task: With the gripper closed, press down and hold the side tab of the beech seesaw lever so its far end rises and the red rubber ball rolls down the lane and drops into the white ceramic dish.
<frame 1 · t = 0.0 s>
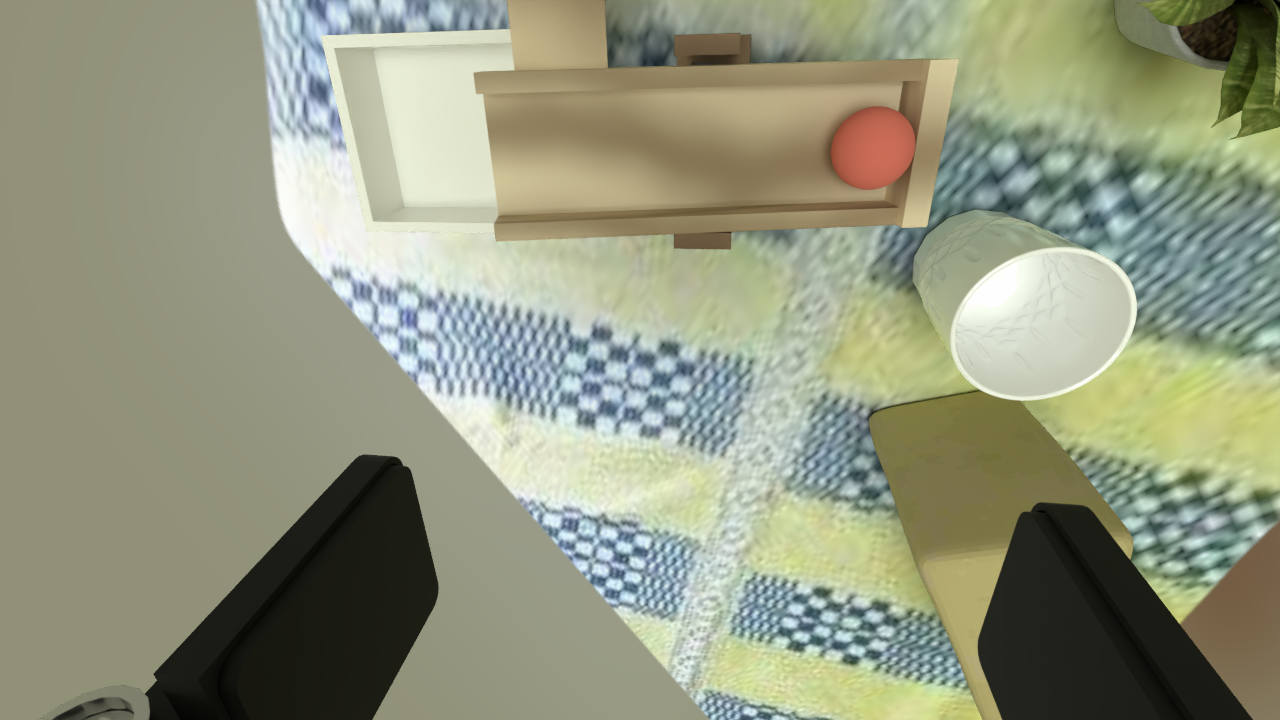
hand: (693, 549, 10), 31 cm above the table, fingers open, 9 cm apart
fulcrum: (711, 127, 36), on the table
dish: (476, 130, 38), on the table
ball: (872, 148, 27), point 9 cm above the table, tilted 8°, touching lever
white cup: (968, 262, 37), on the table
house plant: (1172, 17, 31), on the table
cheese: (952, 516, 46), on the table
lever: (710, 47, 26), point 9 cm above the table, hinge at -12.0°, touching ball
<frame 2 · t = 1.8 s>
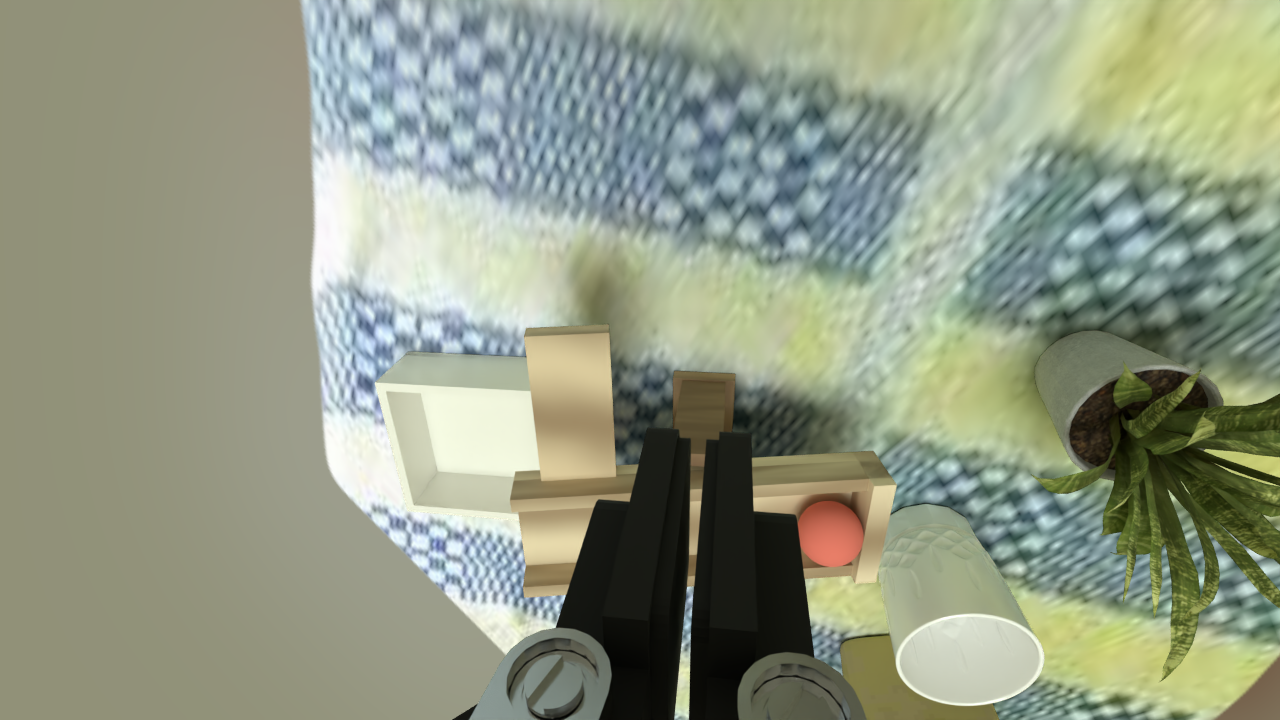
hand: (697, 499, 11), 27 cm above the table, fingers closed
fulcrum: (702, 432, 42), on the table
dish: (500, 420, 44), on the table
ball: (829, 533, 33), point 9 cm above the table, tilted 8°, touching lever
white cup: (921, 537, 44), on the table
house plant: (1082, 386, 37), on the table
cheese: (914, 715, 53), on the table
lever: (699, 459, 33), point 9 cm above the table, hinge at -12.0°, touching ball
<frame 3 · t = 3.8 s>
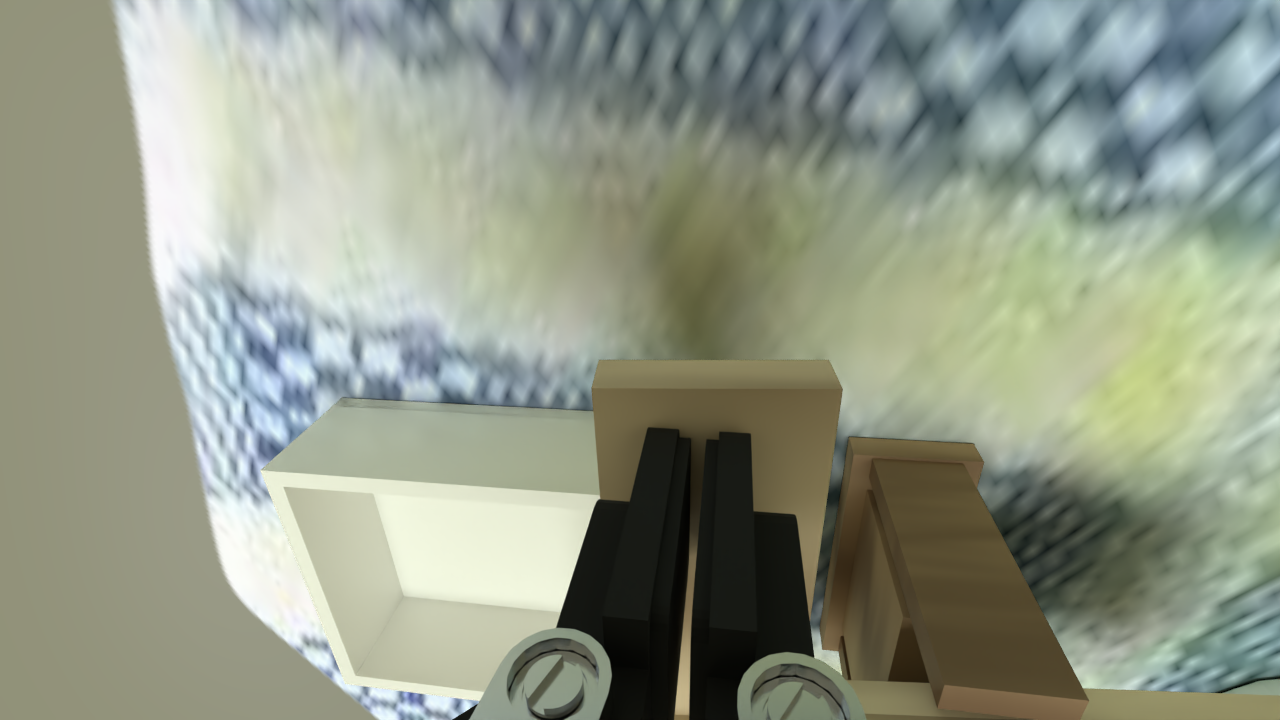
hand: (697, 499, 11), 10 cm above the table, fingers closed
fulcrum: (888, 546, 23), on the table
dish: (512, 516, 25), on the table
lever: (1010, 700, 13), point 9 cm above the table, hinge at -4.8°, touching ball, gripper
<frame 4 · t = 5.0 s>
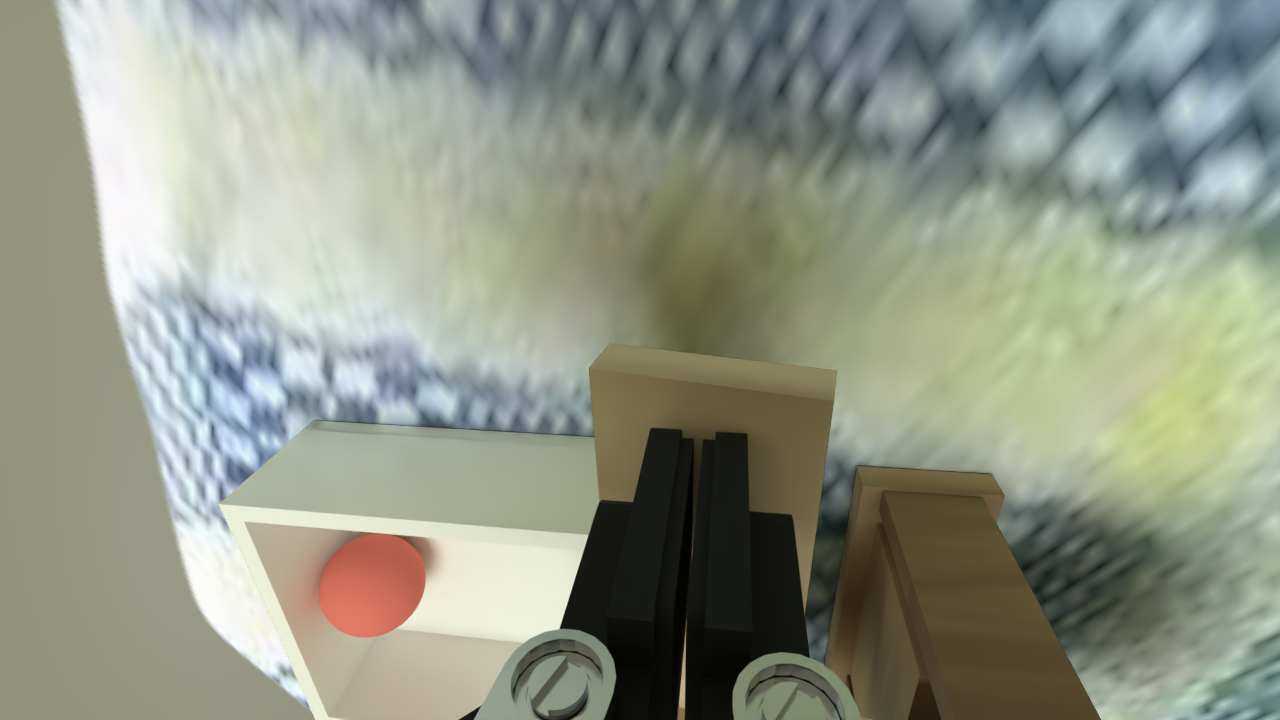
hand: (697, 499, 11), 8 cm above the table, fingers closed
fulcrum: (898, 580, 21), on the table
dish: (496, 545, 23), on the table
ball: (374, 584, 22), point 2 cm above the table, tilted 152°, touching dish
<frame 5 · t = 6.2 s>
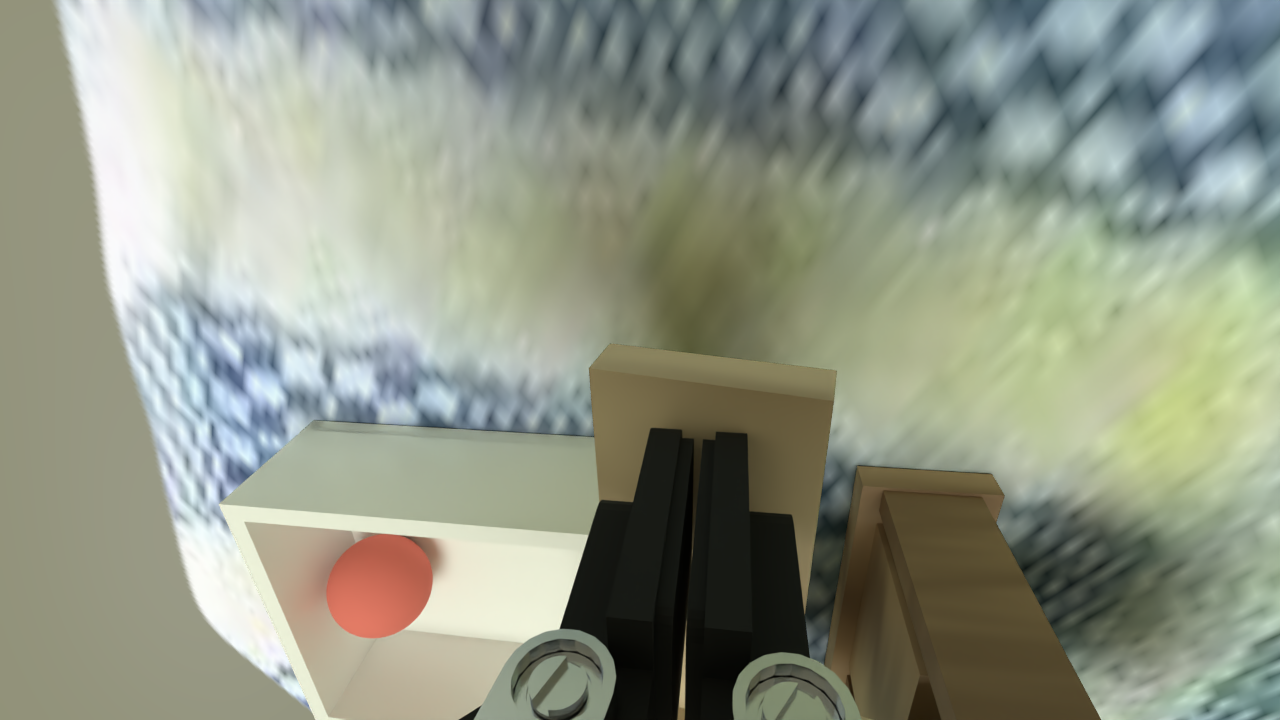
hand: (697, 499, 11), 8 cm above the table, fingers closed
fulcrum: (898, 580, 21), on the table
dish: (496, 545, 23), on the table
ball: (381, 584, 22), point 2 cm above the table, tilted 142°, touching dish
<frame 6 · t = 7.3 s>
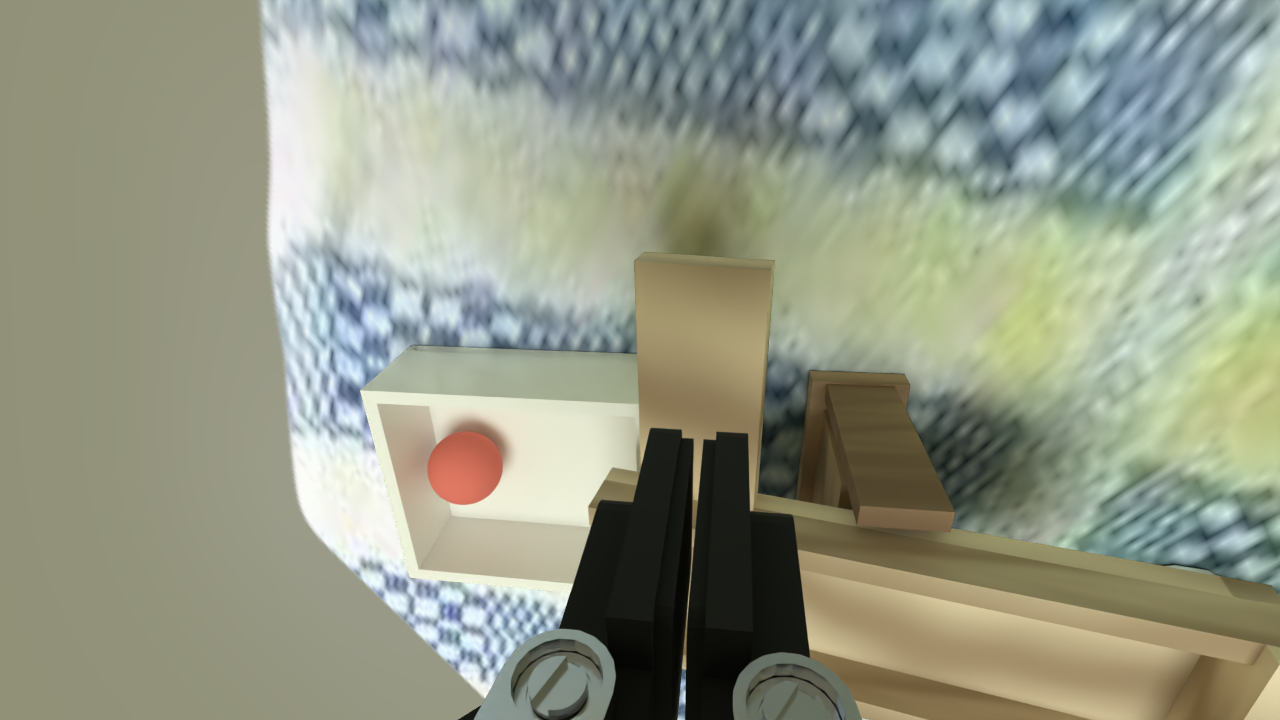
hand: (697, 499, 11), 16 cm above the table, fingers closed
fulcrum: (843, 462, 29), on the table
dish: (544, 444, 31), on the table
ball: (465, 467, 29), point 2 cm above the table, tilted 134°, touching dish
lever: (898, 517, 19), point 9 cm above the table, hinge at 10.1°
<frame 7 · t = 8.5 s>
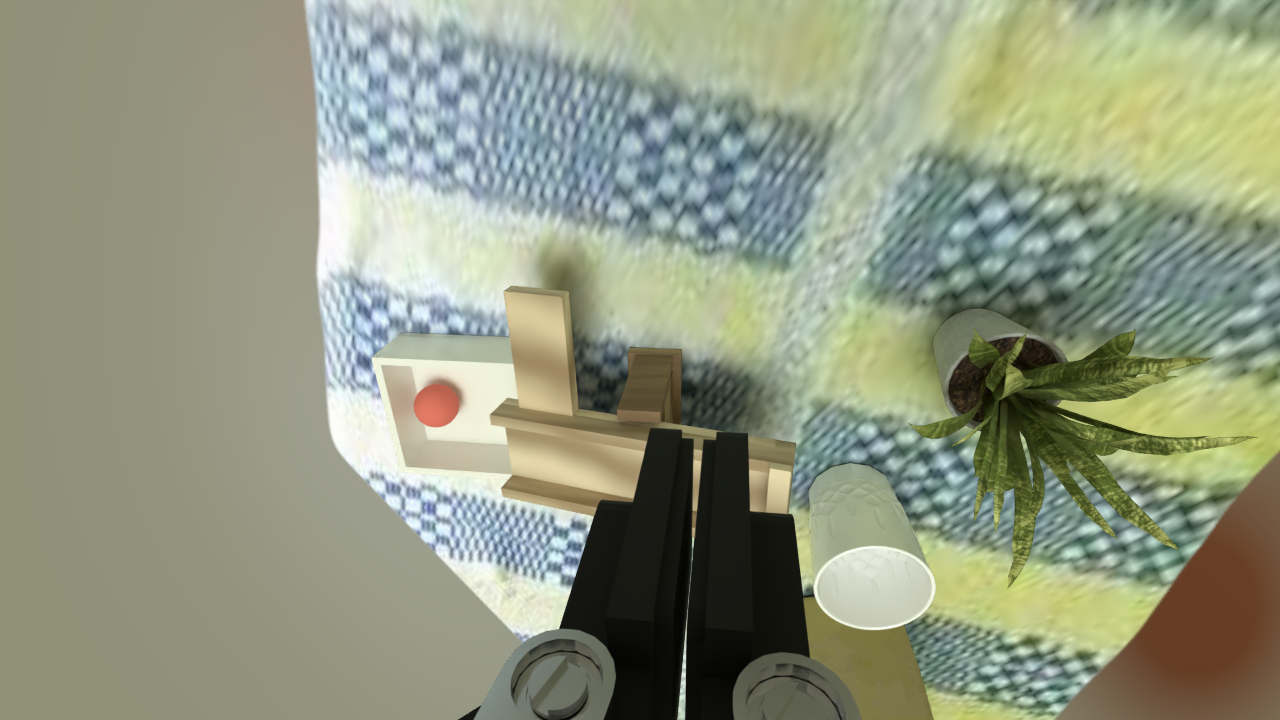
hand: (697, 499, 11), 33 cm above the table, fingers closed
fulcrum: (656, 402, 49), on the table
dish: (482, 393, 51), on the table
ball: (436, 405, 49), point 2 cm above the table, tilted 125°, touching dish
white cup: (849, 493, 50), on the table
house plant: (974, 357, 43), on the table
cheese: (857, 669, 60), on the table
lever: (636, 416, 39), point 9 cm above the table, hinge at 10.1°
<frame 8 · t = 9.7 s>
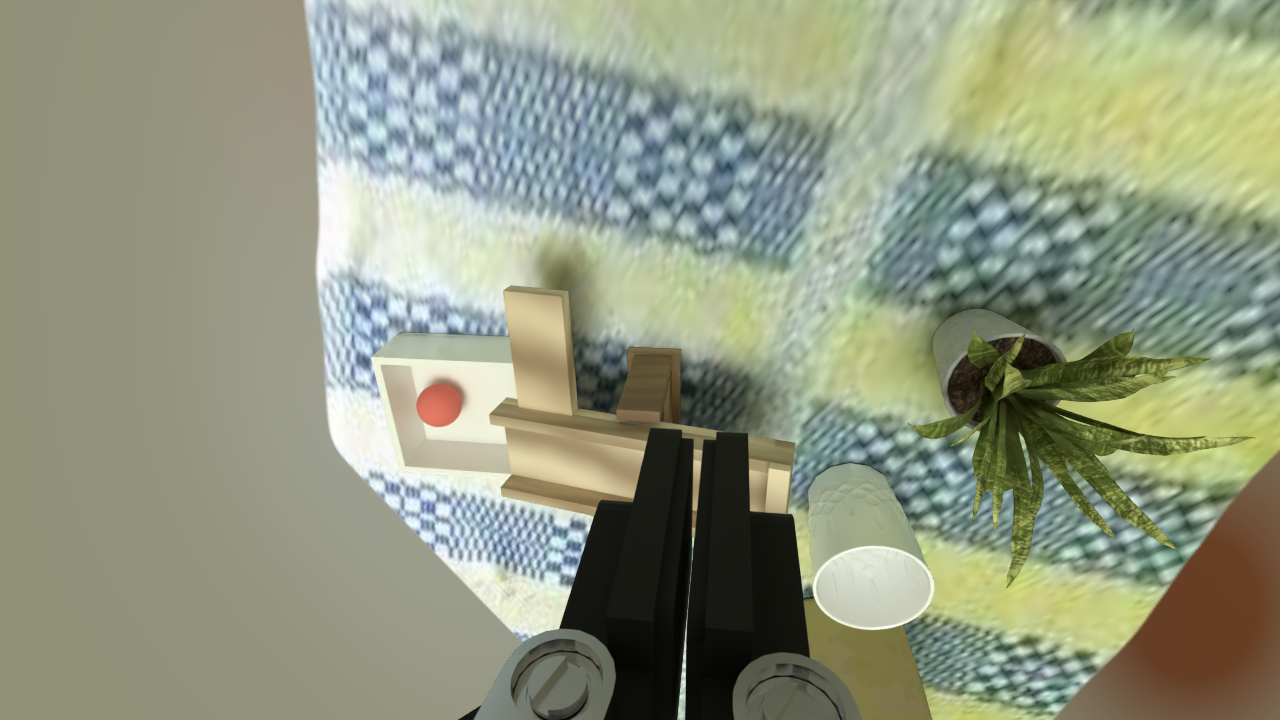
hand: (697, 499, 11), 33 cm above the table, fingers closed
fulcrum: (655, 402, 49), on the table
dish: (481, 392, 51), on the table
ball: (439, 405, 49), point 2 cm above the table, tilted 116°, touching dish
white cup: (848, 493, 50), on the table
house plant: (973, 357, 43), on the table
cheese: (857, 671, 60), on the table
lever: (636, 415, 39), point 9 cm above the table, hinge at 10.1°
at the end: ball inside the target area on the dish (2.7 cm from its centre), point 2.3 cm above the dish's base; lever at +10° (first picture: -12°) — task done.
